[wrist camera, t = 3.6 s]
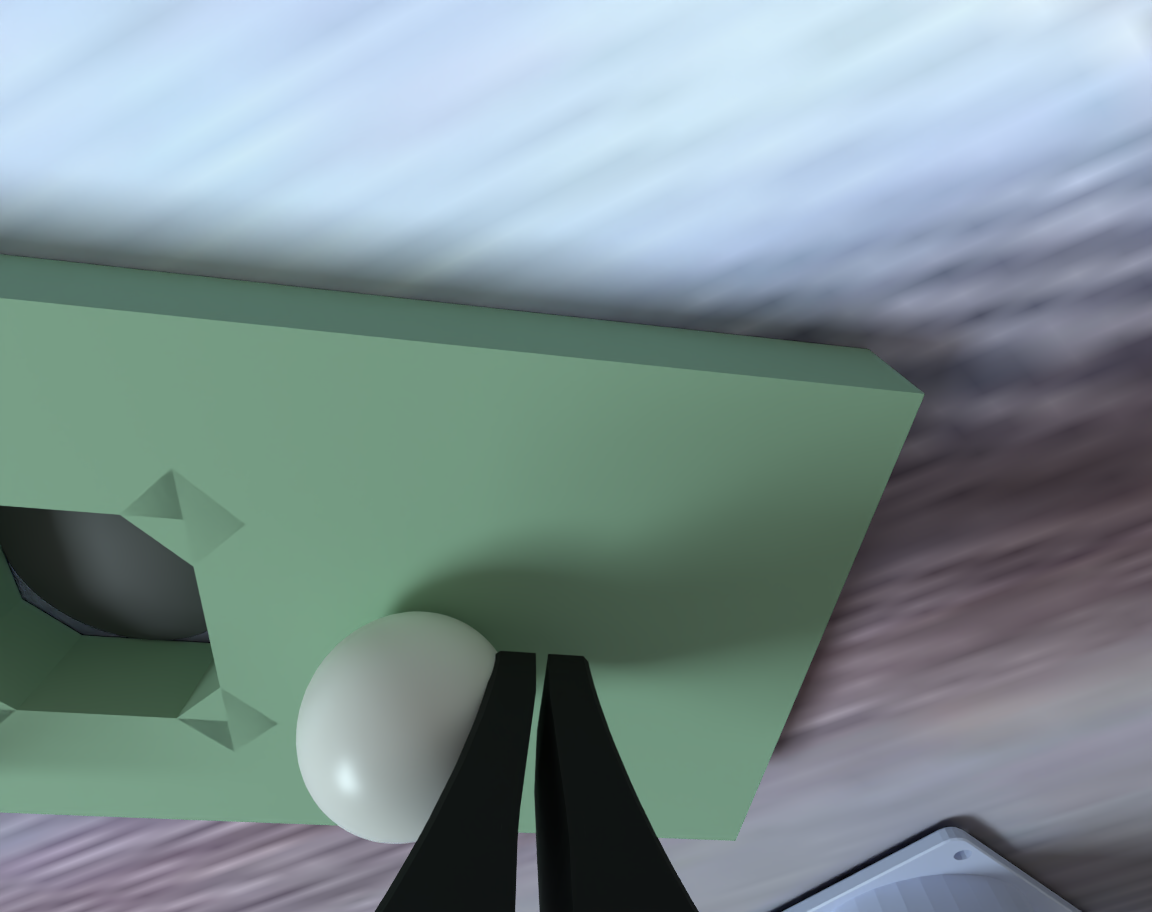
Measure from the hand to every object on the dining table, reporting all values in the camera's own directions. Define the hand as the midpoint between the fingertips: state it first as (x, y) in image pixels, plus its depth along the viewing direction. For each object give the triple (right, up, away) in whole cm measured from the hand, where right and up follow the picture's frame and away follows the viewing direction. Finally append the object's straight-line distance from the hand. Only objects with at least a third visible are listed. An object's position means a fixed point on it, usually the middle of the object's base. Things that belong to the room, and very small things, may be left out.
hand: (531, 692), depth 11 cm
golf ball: (-2, 0, -1) cm, 2 cm away
